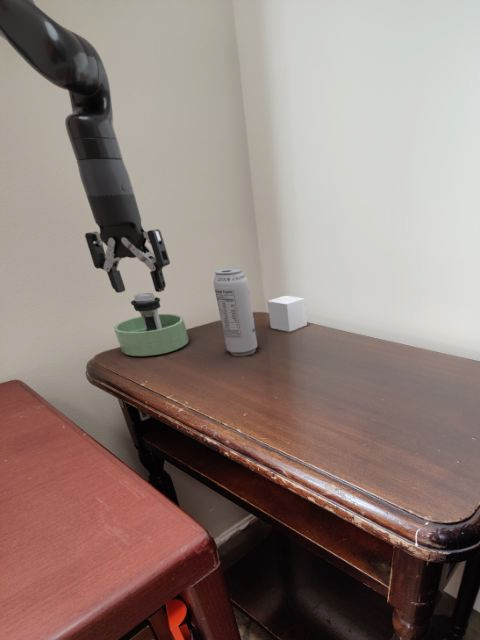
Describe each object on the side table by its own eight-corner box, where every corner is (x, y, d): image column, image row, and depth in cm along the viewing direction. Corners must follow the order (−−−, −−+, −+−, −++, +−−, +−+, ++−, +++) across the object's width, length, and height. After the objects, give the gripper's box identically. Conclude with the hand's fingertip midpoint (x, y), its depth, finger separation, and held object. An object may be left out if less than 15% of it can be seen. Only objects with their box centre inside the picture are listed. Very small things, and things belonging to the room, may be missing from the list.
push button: (134, 348, 82) (117, 297, 76) (150, 339, 86) (135, 291, 80) (161, 349, 80) (146, 298, 74) (177, 341, 84) (163, 292, 79)
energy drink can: (264, 351, 78) (252, 269, 70) (237, 359, 75) (221, 275, 66) (248, 344, 82) (234, 266, 74) (222, 352, 79) (205, 271, 70)
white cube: (289, 332, 88) (286, 304, 85) (270, 327, 91) (267, 301, 88) (307, 325, 92) (305, 298, 89) (288, 321, 95) (285, 295, 92)
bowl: (108, 357, 79) (99, 332, 76) (145, 336, 89) (138, 313, 87) (169, 358, 77) (162, 333, 74) (199, 336, 87) (194, 314, 85)
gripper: (159, 190, 70) (183, 286, 79) (88, 194, 72) (119, 287, 81) (135, 191, 64) (164, 295, 73) (58, 195, 66) (95, 296, 75)
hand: (140, 291), depth 77 cm, fingers open, 8 cm apart
